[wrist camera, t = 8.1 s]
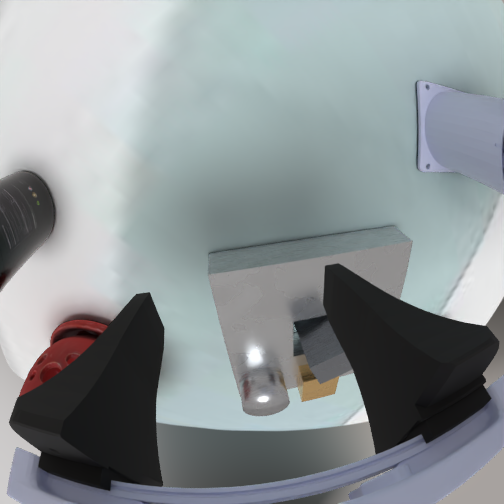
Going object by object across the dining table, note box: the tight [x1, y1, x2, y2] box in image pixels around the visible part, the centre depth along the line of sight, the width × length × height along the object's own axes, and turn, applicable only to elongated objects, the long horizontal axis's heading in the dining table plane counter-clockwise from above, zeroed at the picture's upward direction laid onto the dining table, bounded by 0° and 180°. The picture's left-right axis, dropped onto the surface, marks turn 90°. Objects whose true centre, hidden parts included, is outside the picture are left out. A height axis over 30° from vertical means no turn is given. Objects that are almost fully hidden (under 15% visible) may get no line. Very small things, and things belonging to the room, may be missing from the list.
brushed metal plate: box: [208, 226, 412, 416], centre depth 23 cm, size 16×16×6 cm
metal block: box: [294, 315, 352, 384], centre depth 22 cm, size 3×3×7 cm
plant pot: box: [19, 320, 108, 396], centre depth 20 cm, size 13×13×12 cm
